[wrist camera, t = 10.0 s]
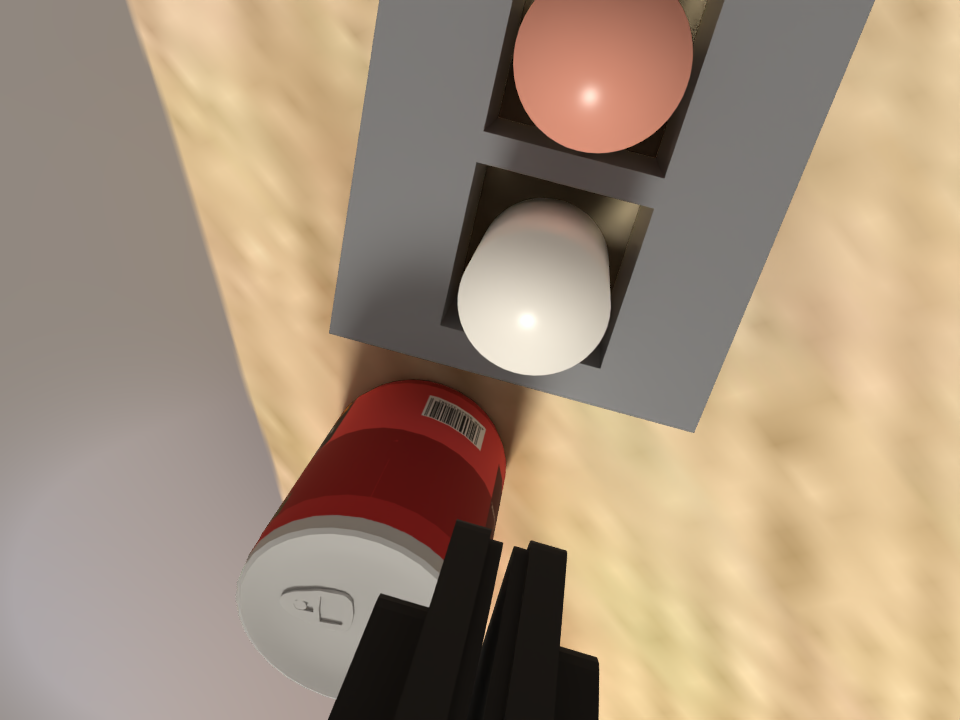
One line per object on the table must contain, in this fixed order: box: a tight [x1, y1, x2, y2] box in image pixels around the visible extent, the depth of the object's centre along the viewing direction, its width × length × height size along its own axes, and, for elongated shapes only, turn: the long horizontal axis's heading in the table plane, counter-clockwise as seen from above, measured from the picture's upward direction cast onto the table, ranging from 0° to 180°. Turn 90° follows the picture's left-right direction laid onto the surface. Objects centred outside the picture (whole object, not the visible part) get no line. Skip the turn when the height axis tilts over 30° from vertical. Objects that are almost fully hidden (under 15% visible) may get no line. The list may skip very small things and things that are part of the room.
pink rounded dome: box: [513, 0, 693, 153], centre depth 21 cm, size 5×5×4 cm
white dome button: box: [458, 198, 611, 376], centre depth 24 cm, size 5×5×4 cm
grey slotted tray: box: [329, 0, 875, 433], centre depth 24 cm, size 14×23×4 cm, turn 167°
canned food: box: [236, 380, 506, 699], centre depth 29 cm, size 8×8×11 cm
